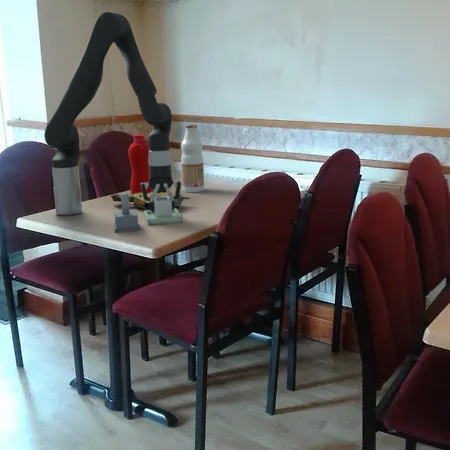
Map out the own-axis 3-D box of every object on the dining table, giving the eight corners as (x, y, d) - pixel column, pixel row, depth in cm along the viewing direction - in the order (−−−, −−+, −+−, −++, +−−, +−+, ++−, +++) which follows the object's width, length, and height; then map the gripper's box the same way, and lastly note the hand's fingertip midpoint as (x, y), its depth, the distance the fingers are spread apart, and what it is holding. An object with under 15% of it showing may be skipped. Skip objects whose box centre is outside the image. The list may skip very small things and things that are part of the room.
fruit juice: (184, 193, 241) (181, 126, 233) (180, 189, 250) (178, 124, 242) (206, 192, 243) (204, 125, 235) (202, 187, 252) (200, 123, 244)
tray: (148, 224, 192) (147, 219, 192) (144, 215, 205) (143, 210, 204) (182, 222, 195) (182, 217, 194) (176, 213, 207) (176, 208, 207)
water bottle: (156, 196, 236) (152, 135, 230) (129, 196, 236) (125, 135, 230) (158, 191, 245) (156, 133, 238) (133, 192, 245) (129, 133, 239)
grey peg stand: (115, 232, 184) (112, 197, 181) (113, 226, 191) (111, 192, 188) (140, 230, 185) (138, 195, 182) (138, 224, 193) (135, 190, 190)
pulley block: (122, 185, 227) (190, 189, 216) (123, 198, 229) (191, 204, 218) (102, 195, 215) (173, 201, 204) (104, 210, 217) (174, 216, 206)
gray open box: (155, 216, 195) (154, 201, 193) (152, 210, 202) (151, 197, 201) (172, 214, 196) (171, 200, 195) (168, 209, 203) (168, 195, 202)
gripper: (139, 166, 190) (142, 215, 194) (182, 163, 193) (184, 212, 197) (137, 162, 197) (140, 210, 201) (179, 160, 200) (180, 207, 204)
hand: (162, 211), depth 199 cm, fingers closed on gray open box, 5 cm apart
